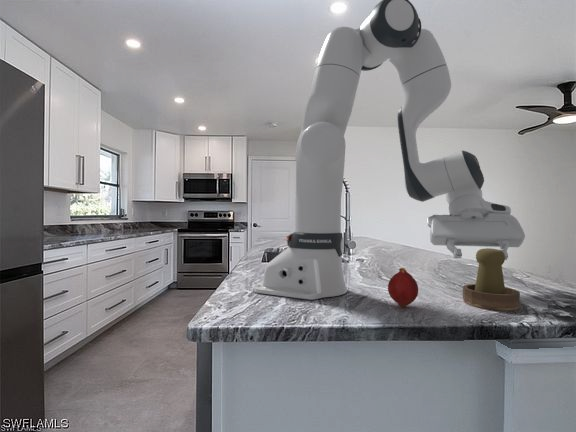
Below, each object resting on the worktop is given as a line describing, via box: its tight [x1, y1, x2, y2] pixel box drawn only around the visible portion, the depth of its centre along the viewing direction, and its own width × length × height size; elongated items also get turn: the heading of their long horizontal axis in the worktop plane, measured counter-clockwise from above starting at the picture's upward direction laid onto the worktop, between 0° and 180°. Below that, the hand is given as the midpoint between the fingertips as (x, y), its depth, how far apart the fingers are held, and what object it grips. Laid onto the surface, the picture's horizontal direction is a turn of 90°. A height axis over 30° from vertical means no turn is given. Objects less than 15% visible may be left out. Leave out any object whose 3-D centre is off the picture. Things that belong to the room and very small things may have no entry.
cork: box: [475, 247, 506, 294], centre depth 68 cm, size 6×6×11 cm
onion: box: [387, 267, 419, 308], centre depth 66 cm, size 6×6×8 cm
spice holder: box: [462, 283, 521, 312], centre depth 68 cm, size 10×10×3 cm
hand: (480, 257), depth 75 cm, fingers open, 8 cm apart
